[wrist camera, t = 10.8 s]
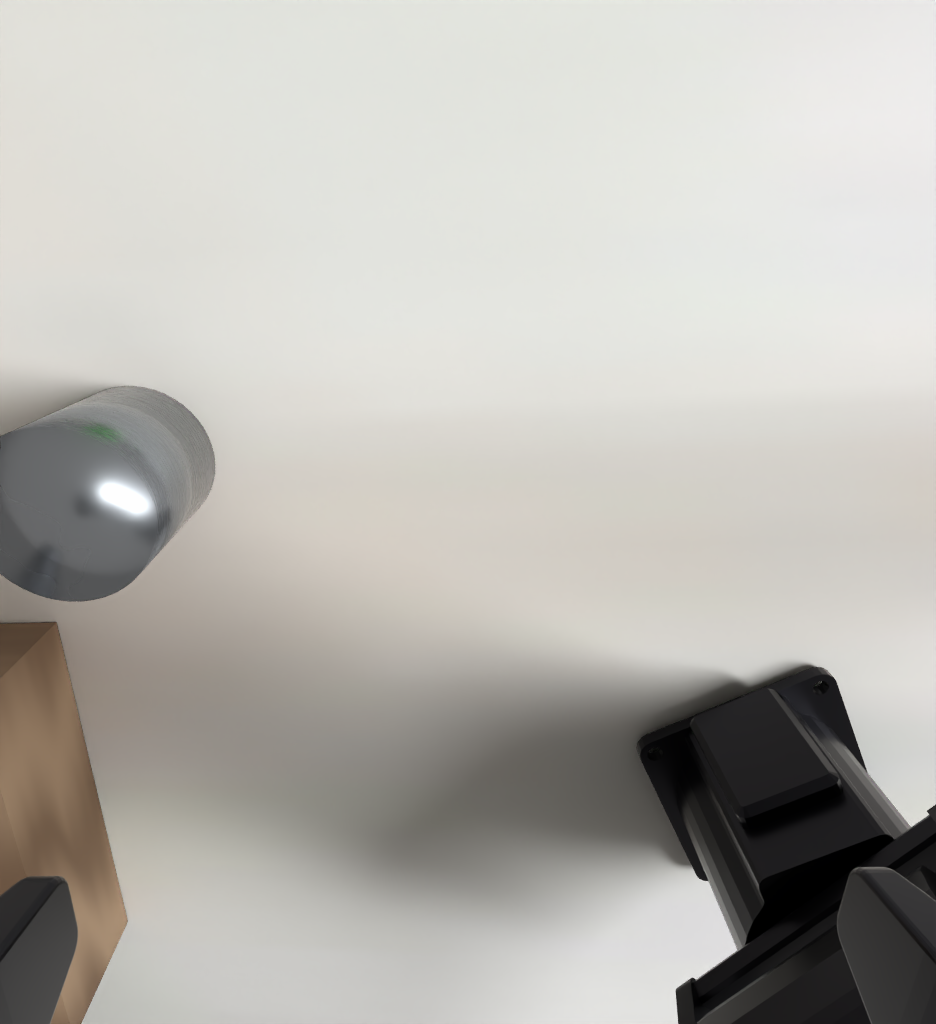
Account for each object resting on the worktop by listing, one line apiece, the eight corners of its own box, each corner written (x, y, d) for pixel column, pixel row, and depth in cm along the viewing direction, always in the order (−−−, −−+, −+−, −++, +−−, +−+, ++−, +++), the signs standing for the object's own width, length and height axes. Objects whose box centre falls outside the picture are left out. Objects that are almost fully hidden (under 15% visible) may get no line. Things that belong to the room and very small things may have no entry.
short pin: (243, 490, 20) (190, 556, 16) (122, 549, 21) (40, 628, 16) (160, 360, 19) (81, 394, 15) (33, 425, 19) (-80, 477, 15)
